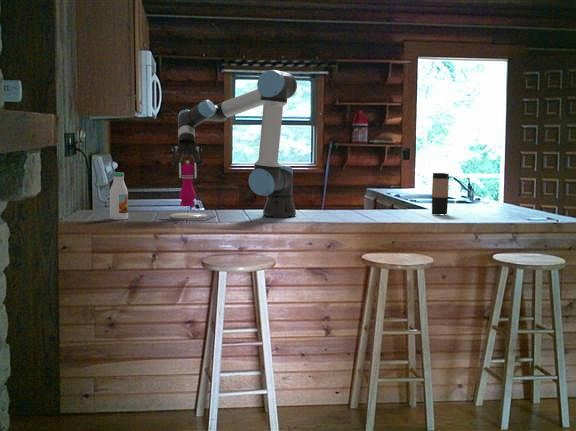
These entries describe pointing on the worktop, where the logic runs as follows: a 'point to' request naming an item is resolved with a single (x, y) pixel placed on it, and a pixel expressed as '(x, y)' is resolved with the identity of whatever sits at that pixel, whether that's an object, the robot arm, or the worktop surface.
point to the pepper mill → (187, 185)
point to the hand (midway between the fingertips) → (187, 175)
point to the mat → (188, 219)
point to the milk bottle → (118, 198)
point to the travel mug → (440, 193)
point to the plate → (188, 215)
